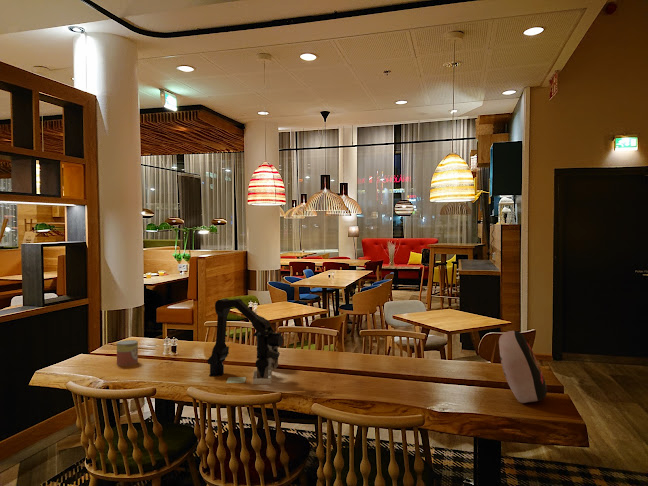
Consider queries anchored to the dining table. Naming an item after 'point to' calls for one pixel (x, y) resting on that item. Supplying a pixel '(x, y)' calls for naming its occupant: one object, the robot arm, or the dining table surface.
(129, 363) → the canned food
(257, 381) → the carton
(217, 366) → the robot arm
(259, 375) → the walnut box
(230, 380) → the sage mat
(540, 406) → the dining table surface
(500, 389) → the dining table surface
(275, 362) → the coffee box
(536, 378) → the packaged food
